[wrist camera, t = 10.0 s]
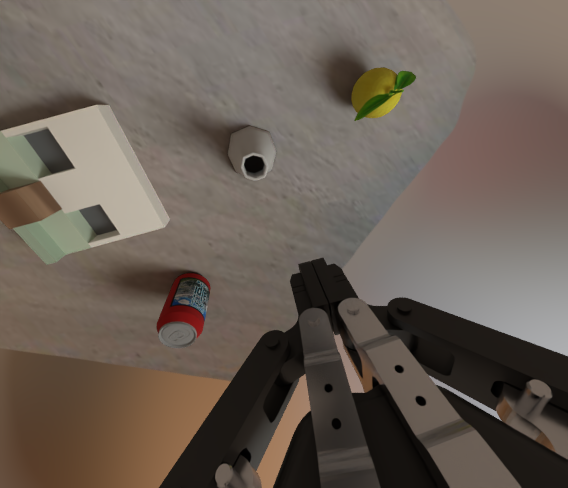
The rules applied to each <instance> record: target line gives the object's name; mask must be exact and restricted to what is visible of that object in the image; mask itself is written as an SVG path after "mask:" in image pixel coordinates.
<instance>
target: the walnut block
mask: <svg viewBox="0 0 568 488" xmlns="http://www.w3.org/2000/svg"><path fill="white" fill-rule="evenodd" d="M61 209H62V208H61V207H60V205H59V204H58V203H57V201H56V200H55V199H54V198H53V196H52V195H51V194H50V192H49V191H48V190H47V188H46V187H45V186H44V185H43V183H42V182H41V181H38V182H34V183H31V184H27V185H23V186H20V187H16V188H12V189H9V190H6V191H3V192H0V220H1V221H2V222H3V223H4V224H5V225H6V226H7V227H8V228H9V229H12V228H16V227H20V226H23V225H27V224H31V223H35V222H38V221H41V220H43V219H45V218H47V217H49V216H50V215H52V214H54V213H56V212H58V211H59V210H61Z"/></svg>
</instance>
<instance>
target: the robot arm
mask: <svg viewBox="0 0 568 488" xmlns="http://www.w3.org/2000/svg"><path fill="white" fill-rule="evenodd" d="M298 265H299V270H300V273H297V274H293V275H292V276H291V280H290V283H291V287H292V291H293V295H294V299H295V303H296V307H297V310H298V315H299V316H298V321H297V323H296V324H295V325H294V326H293V327H292V328H291V329H290V330H288V331H286V332H285V333H284V332H282V331H279V330H273V331H269V332H267V333H266V334H264V335H263V336H262V337H261V339H260V340H259V341H258V343H257V344H256V346H255V347H254V349H253V350H252V352H251V353H250V355H249V356H248V358H247V359H246V361H245V362H244V363H243V365H242V366H241V368H240V369H239V371H238V372H237V374H236V375H235V377H234V378H233V380H232V381H231V383H230V384H229V386H228V387H227V389H226V390H225V391H224V393H223V394H222V396H221V397H220V399H219V400H218V402H217V403H216V405H215V406H214V408H213V409H212V411H211V412H210V413H209V415H208V416H207V418H206V419H205V421H204V422H203V424H202V425H201V427H200V428H199V430H198V431H197V433H196V434H195V435H194V437H193V439H192V440H191V441H190V443H189V444H188V446H187V447H186V449H185V450H184V452H183V453H182V455H181V456H180V458H179V459H178V461H177V462H176V463H175V465H174V466H173V468H172V469H171V471H170V472H169V474H168V475H167V477H166V478H165V480H164V481H163V483H162V484H161V485H160V487H159V488H262V487H261V480H260V477H259V475H258V473H257V472H256V470H257V468H258V466H259V464H260V462H261V460H262V458H263V455H264V454H265V451H266V449H267V447H268V445H269V443H270V441H271V439H272V437H273V435H274V432H275V430H276V428H277V426H278V424H279V422H280V420H281V418H282V416H283V413H284V411H285V409H286V407H287V405H288V403H289V401H290V399H291V397H292V394H293V392H294V390H295V388H296V386H297V384H298V382H299V378H300V377H301V376H303V375H304V374H306V380H307V386H308V393H309V400H310V407H311V411H310V412H308V413H307V414H306V416H305V417H303V419H302V420H301V422H300V423H299V424H298V426H297V428H296V430H295V432H294V434H293V437H292V439H291V442H290V445H289V447H288V450H287V452H286V455H285V458H284V461H283V463H282V465H281V468H280V471H279V473H278V476H277V478H276V481H275V484H274V486H273V488H568V356H565V355H563V354H560V353H557V352H554V351H552V350H549V349H546V348H543V347H541V346H537V345H535V344H532V343H530V342H527V341H524V340H521V339H519V338H516V337H513V336H510V335H508V334H505V333H502V332H499V331H497V330H494V329H491V328H488V327H485V326H483V325H480V324H477V323H475V322H472V321H469V320H466V319H463V318H461V317H458V316H455V315H453V314H449V313H447V312H444V311H442V310H439V309H436V308H433V307H430V306H428V305H425V304H422V303H420V302H416V301H414V300H411V299H408V298H395V299H393V300H391V301H390V302H389V303H388V306H372V305H368V304H366V303H365V302H364V301H363V300H361V299H359V298H358V296H357V295H356V293H355V291H354V289H353V288H352V286H351V284H350V283H349V281H348V280H347V278H346V276H345V275H344V273H343V271H342V269H341V268H340V267H339V266H337V265H336V264H331V265H327V264H326V262H325V260H324V258H320V259H316V260H312V261H311V262H310V261H308V262H305V263H301V264H298ZM333 332H334V334H335V335H338V334H340V336H341V338H342V341H343V347H344V349H345V351H346V353H347V355H348V357H349V359H350V361H351V363H352V365H353V367H354V369H355V371H356V373H357V375H358V377H359V379H360V381H361V384H362V386H363V389H364V392H365V393H351V389H350V386H349V383H348V379H347V376H346V372H345V369H344V366H343V363H342V359H341V356H340V353H339V352H338V350H337V346H336V343H335V339H334V334H333ZM427 374H428V375H430V376H432V377H434V378H435V379H438V380H439V381H441V382H443V383H445V384H447V385H448V386H450V387H452V388H454V389H456V390H458V391H460V392H461V393H463V394H465V395H467V396H469V397H471V398H473V399H474V400H476V401H478V402H480V403H482V404H484V405H486V406H487V407H489V408H491V409H493V410H495V411H497V414H498V415H499V417H500V419H501V420H502V421H503V422H502V421H500V420H499V419H497V418H495V417H494V416H492V415H490V414H488V413H486V412H485V411H483V410H481V409H479V408H478V407H476V406H474V405H473V404H471V403H469V402H468V401H466V400H464V399H463V398H461V397H459V396H457V395H456V394H454V393H452V392H450V391H449V390H447V389H445V388H442V387H440V386H438V385H435V384H434V382H433V381H432V380H431V378H430V377H429V376H428V375H427Z"/></svg>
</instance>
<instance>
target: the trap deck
mask: <svg viewBox="0 0 568 488" xmlns="http://www.w3.org/2000/svg"><path fill="white" fill-rule="evenodd" d="M38 181H41V182H42V183H43V185H44V186H45V187H46V188H47V190H48V191H49V192H50V194H51V195H52V196H53V198H54V199H55V200H56V201H57V203H58V204H59V205H60V207H61V208H62V209H61V210H59V211H58V212H56V213H54V214H52V215H50V216H49V217H47V218H45V219H43V220H41V221H38V222H35V223H31V224H27V225H23V226H20V227H16V228H13V229H14V230H15V231H16V232H17V234H18V235H19V236H20V237H21V238H22V239H23V240H24V241H25V242H26V243H27V244H28V245H29V246H30V247H31V248H32V250H33V251H34V252H35V253H36V254H37V255H38V256H39V257H40V258H41V259H42V260H43V261H44V262H45V263H46V265H48V264H51V263H55V262H57V261H59V260H60V259H61V258H62V257H63V256H65V255H66V254H70V253H73V252H77V251H81V250H84V249H88V248H92V247H95V246H99V245H103V244H106V243H110V242H113V241H117V240H121V239H124V238H128V237H132V236H135V235H139V234H143V233H146V232H150V231H153V230H157V229H161V228H164V227H165V226H166V225H167V223H168V222H169V220H170V218H169V217H168V215H167V213H166V211H165V209H164V207H163V205H162V203H161V202H160V200H159V198H158V196H157V194H156V192H155V190H154V188H153V187H152V185H151V183H150V181H149V179H148V177H147V175H146V173H145V172H144V170H143V168H142V166H141V164H140V162H139V160H138V158H137V157H136V155H135V153H134V151H133V149H132V147H131V145H130V143H129V142H128V140H127V138H126V136H125V134H124V132H123V130H122V128H121V127H120V125H119V123H118V121H117V119H116V117H115V115H114V113H113V112H112V110H111V108H110V106H109V105H94V106H90V107H86V108H83V109H79V110H75V111H72V112H68V113H64V114H61V115H57V116H53V117H50V118H46V119H42V120H39V121H35V122H31V123H28V124H24V125H20V126H17V127H13V128H9V129H6V130H2V131H0V192H3V191H6V190H9V189H12V188H16V187H20V186H23V185H27V184H31V183H34V182H38Z"/></svg>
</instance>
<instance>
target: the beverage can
mask: <svg viewBox="0 0 568 488" xmlns="http://www.w3.org/2000/svg"><path fill="white" fill-rule="evenodd" d="M209 294H210V284H209V282H208V281H207V279H206V278H204V277H203V276H201V275H198V274H194V273H187V274H183V275H180V276H179V277H177V278H176V279H175V281H174V283H173V285H172V288H171V290H170V292H169V295H168V297H167V299H166V302H165V304H164V307H163V309H162V312H161V314H160V317H159V319H158V322H157V331H158V337H159V340H160V341H161V342H162V343H163V344H164V345H166V346H168V347H172V348H184V347H187V346H190V345H191V344H193V343H194V342H195V340H196V338H197V337H198V336H199V335H200V334H201V333H202V330H203V325H204V321H205V316H206V310H207V305H208V300H209Z"/></svg>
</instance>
